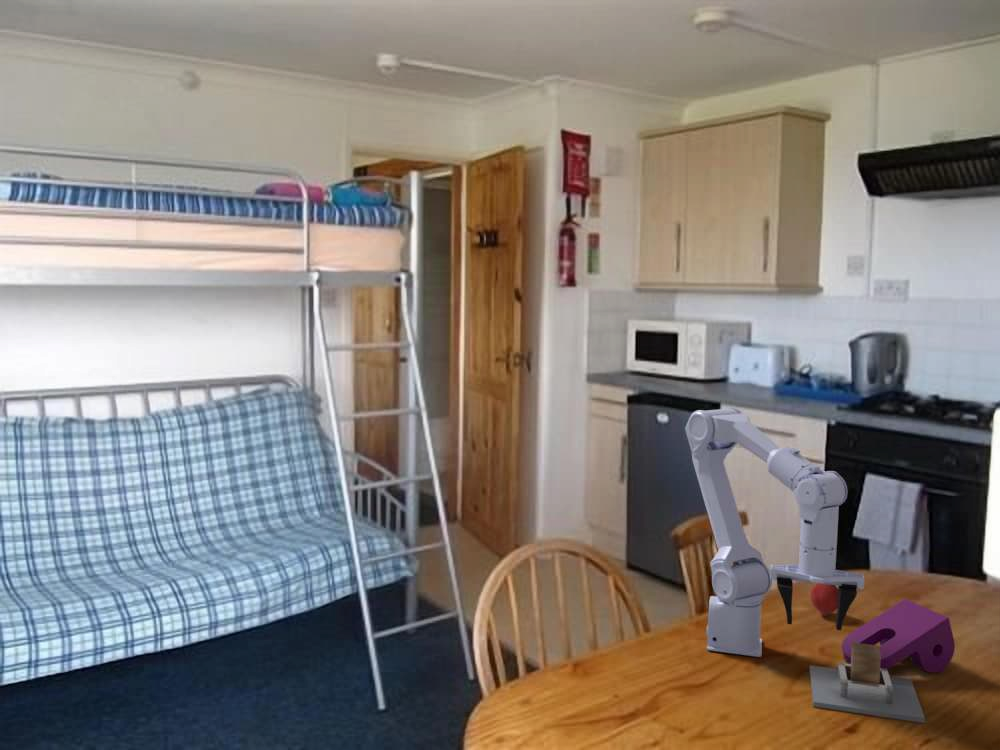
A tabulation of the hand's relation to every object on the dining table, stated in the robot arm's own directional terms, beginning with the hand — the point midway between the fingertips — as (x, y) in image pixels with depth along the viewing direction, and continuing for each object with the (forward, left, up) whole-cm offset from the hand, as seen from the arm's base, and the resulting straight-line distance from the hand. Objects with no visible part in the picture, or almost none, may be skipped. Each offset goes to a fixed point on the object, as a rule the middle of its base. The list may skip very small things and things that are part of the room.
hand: (813, 625), depth 144 cm
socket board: (+8, -2, -10) cm, 13 cm away
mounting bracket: (+14, +11, -10) cm, 20 cm away
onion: (+4, +33, -10) cm, 35 cm away
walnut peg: (+8, -2, -9) cm, 12 cm away
